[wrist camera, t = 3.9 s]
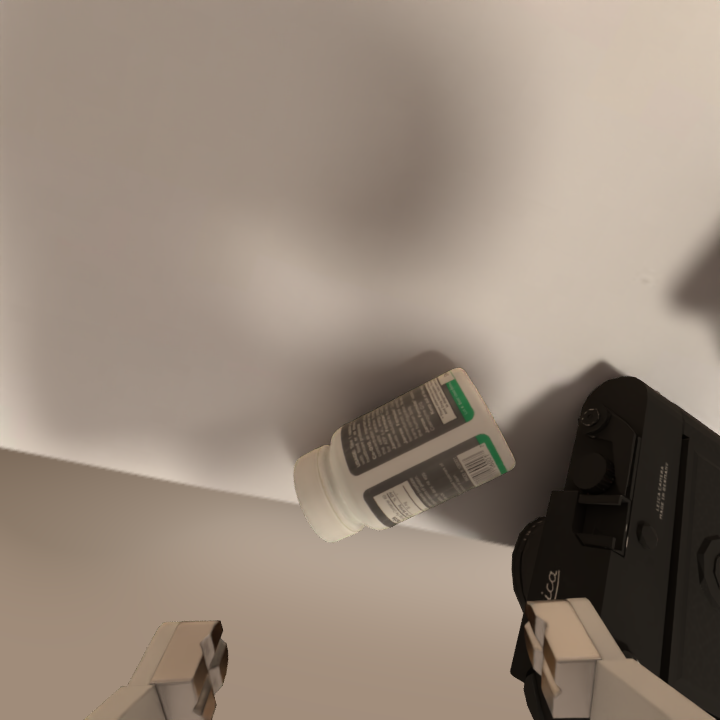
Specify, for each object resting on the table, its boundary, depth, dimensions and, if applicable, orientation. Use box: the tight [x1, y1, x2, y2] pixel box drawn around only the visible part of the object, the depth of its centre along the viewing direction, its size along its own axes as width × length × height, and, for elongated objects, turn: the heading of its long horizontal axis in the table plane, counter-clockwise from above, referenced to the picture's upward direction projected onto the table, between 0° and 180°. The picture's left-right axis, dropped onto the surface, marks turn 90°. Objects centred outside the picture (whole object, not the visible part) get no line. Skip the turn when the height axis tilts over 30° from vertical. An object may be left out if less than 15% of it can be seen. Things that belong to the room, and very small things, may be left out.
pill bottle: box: [294, 368, 516, 543], centre depth 17 cm, size 5×5×8 cm
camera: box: [510, 376, 720, 720], centre depth 17 cm, size 14×7×8 cm
